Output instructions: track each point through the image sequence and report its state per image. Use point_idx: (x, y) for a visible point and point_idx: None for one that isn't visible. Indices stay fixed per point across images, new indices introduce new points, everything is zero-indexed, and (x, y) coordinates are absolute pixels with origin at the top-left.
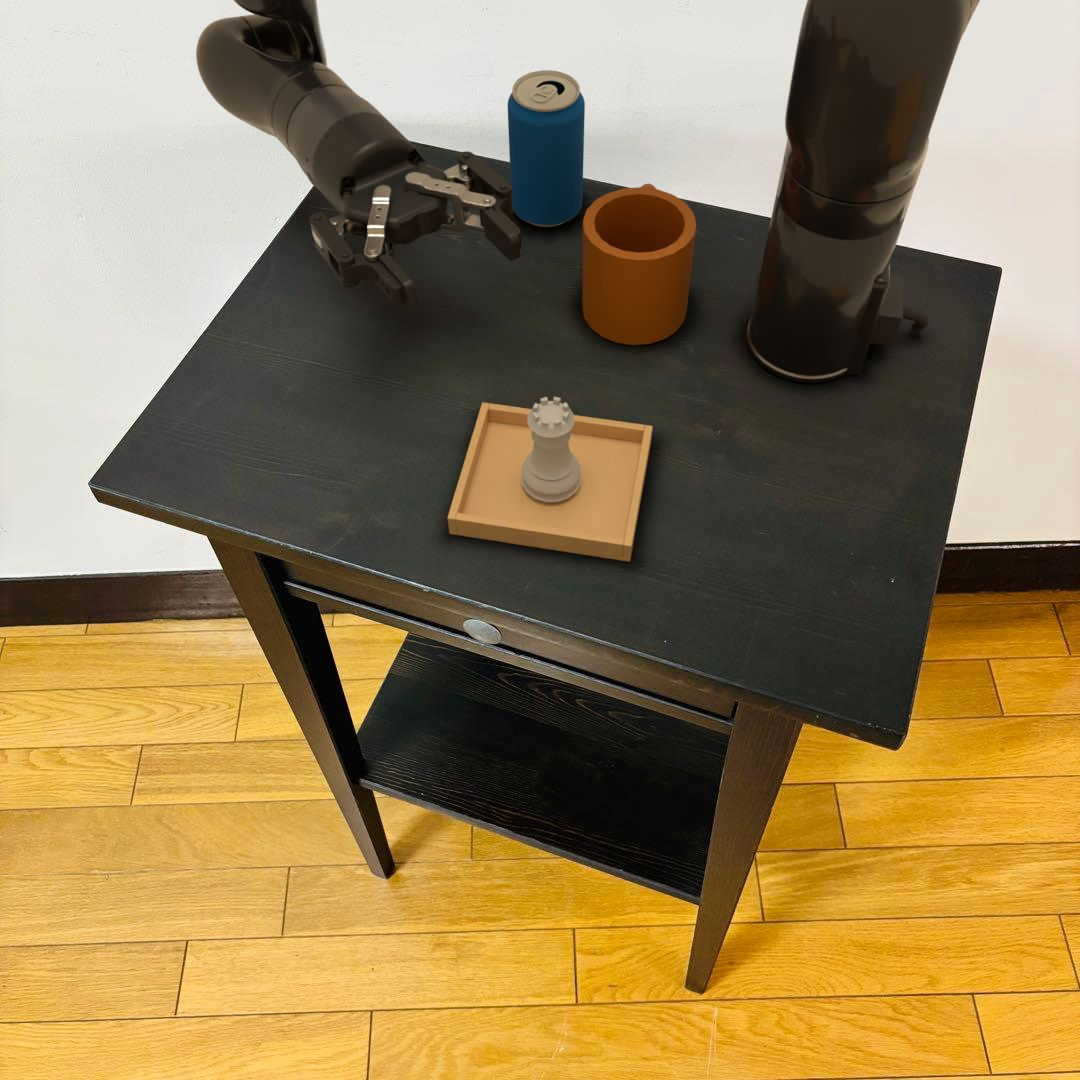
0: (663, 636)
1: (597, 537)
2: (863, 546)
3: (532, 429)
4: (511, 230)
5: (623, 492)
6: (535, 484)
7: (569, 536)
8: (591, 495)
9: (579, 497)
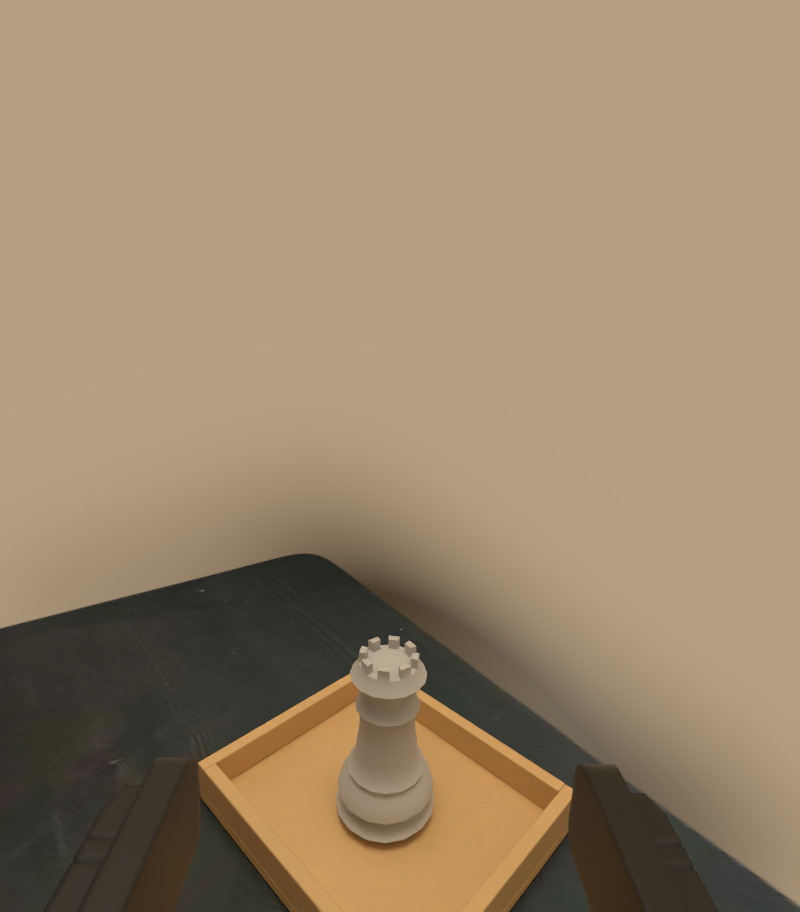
0: (399, 632)
1: None
2: (182, 612)
3: (425, 670)
4: (156, 774)
5: (311, 742)
6: (425, 761)
7: (427, 695)
8: None
9: None
